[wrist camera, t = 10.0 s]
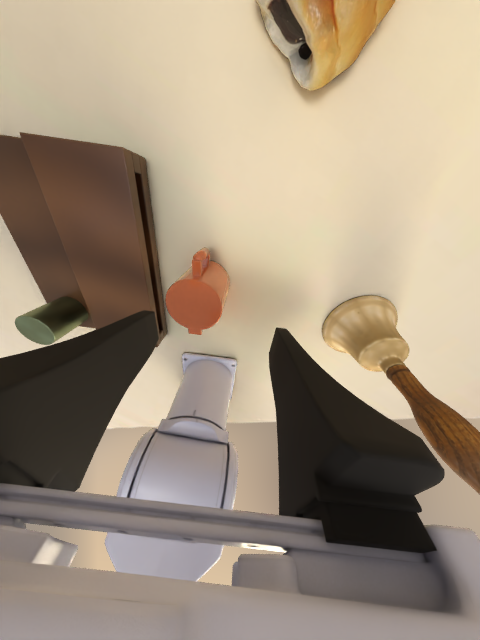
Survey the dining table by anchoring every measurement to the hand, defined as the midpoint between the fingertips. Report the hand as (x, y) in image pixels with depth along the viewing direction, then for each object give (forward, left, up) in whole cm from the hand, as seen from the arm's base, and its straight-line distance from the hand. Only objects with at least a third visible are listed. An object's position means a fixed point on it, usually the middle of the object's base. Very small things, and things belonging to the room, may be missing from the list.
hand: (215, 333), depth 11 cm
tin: (-6, +19, -9) cm, 22 cm away
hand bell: (-4, -16, -11) cm, 20 cm away
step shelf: (0, +15, -10) cm, 18 cm away
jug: (-1, +3, -10) cm, 11 cm away
